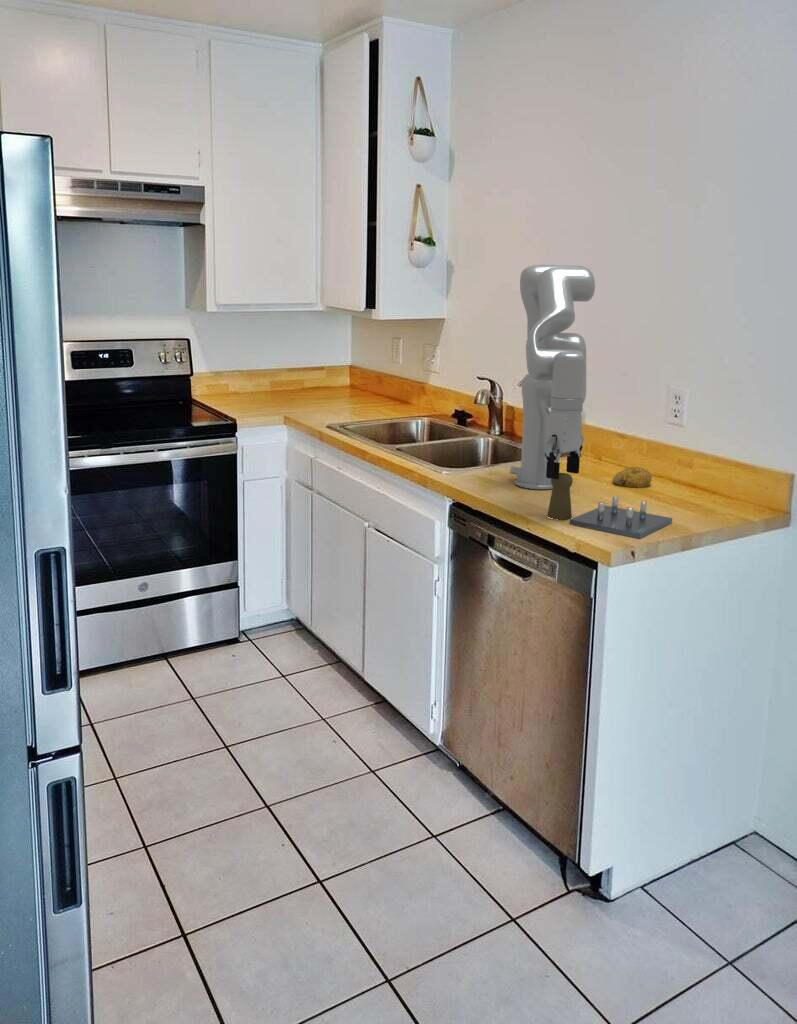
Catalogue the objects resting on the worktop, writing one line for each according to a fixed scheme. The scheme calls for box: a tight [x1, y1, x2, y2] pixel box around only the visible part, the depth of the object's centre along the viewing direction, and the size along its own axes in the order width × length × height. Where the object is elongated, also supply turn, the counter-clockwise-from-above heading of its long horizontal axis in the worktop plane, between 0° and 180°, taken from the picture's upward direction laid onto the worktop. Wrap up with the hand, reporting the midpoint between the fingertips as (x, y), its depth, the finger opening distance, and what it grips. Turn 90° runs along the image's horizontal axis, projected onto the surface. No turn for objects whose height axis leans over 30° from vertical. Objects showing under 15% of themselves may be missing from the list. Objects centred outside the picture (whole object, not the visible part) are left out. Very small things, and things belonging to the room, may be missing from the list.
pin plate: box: [569, 496, 673, 540], centre depth 219 cm, size 18×18×5 cm
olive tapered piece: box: [546, 472, 573, 521], centre depth 223 cm, size 6×6×11 cm
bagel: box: [611, 466, 653, 489], centre depth 259 cm, size 10×11×5 cm
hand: (562, 475), depth 221 cm, fingers open, 9 cm apart
